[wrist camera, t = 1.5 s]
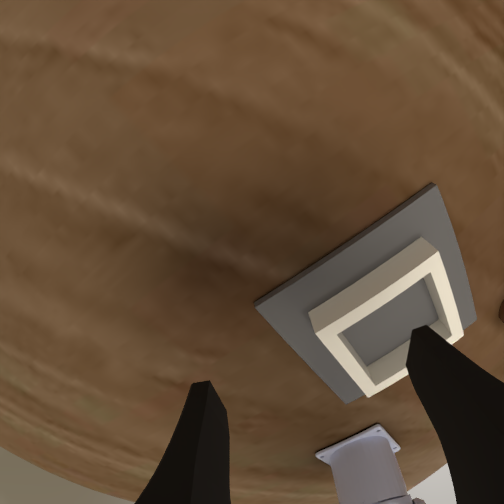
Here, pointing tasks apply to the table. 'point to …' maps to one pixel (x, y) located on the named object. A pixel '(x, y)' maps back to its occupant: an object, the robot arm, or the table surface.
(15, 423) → the table surface
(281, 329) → the holder
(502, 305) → the walnut peg
